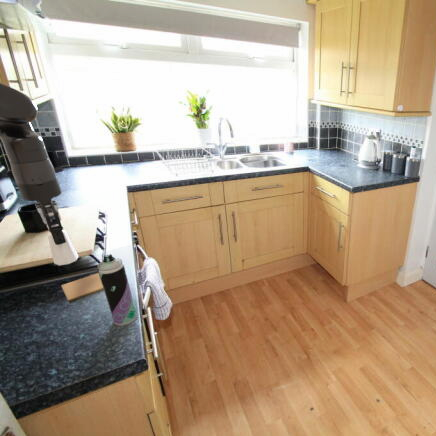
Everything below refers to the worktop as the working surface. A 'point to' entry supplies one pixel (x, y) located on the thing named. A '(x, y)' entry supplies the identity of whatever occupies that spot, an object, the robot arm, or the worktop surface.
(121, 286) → the spray can
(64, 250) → the pepper shaker
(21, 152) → the robot arm
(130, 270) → the worktop surface
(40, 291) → the worktop surface
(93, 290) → the cork mat
